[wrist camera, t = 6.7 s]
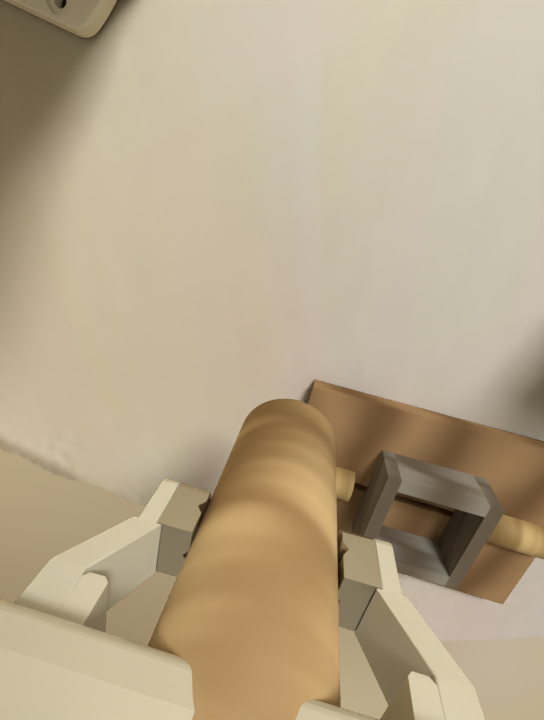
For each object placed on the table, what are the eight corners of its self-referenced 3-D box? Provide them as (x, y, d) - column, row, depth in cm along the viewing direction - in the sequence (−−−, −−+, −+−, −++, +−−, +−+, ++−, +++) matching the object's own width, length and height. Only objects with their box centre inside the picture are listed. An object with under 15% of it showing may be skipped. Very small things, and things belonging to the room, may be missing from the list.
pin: (233, 465, 16) (19, 1007, 5) (250, 387, 15) (-6, 923, 3) (321, 490, 16) (297, 1118, 5) (347, 413, 14) (403, 1080, 3)
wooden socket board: (272, 521, 36) (263, 565, 31) (314, 379, 30) (310, 407, 25) (495, 588, 34) (520, 645, 30) (587, 453, 28) (636, 497, 24)
